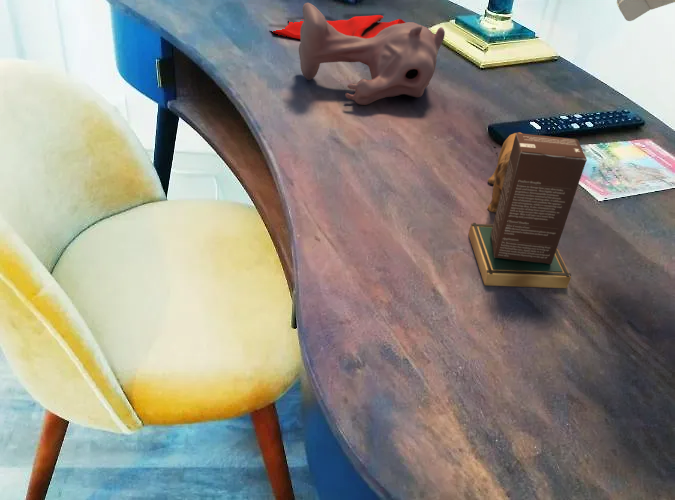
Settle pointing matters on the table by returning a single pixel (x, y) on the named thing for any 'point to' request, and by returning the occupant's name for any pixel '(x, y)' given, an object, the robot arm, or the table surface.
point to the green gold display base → (514, 265)
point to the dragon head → (372, 56)
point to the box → (536, 197)
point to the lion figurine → (500, 172)
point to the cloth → (346, 27)
